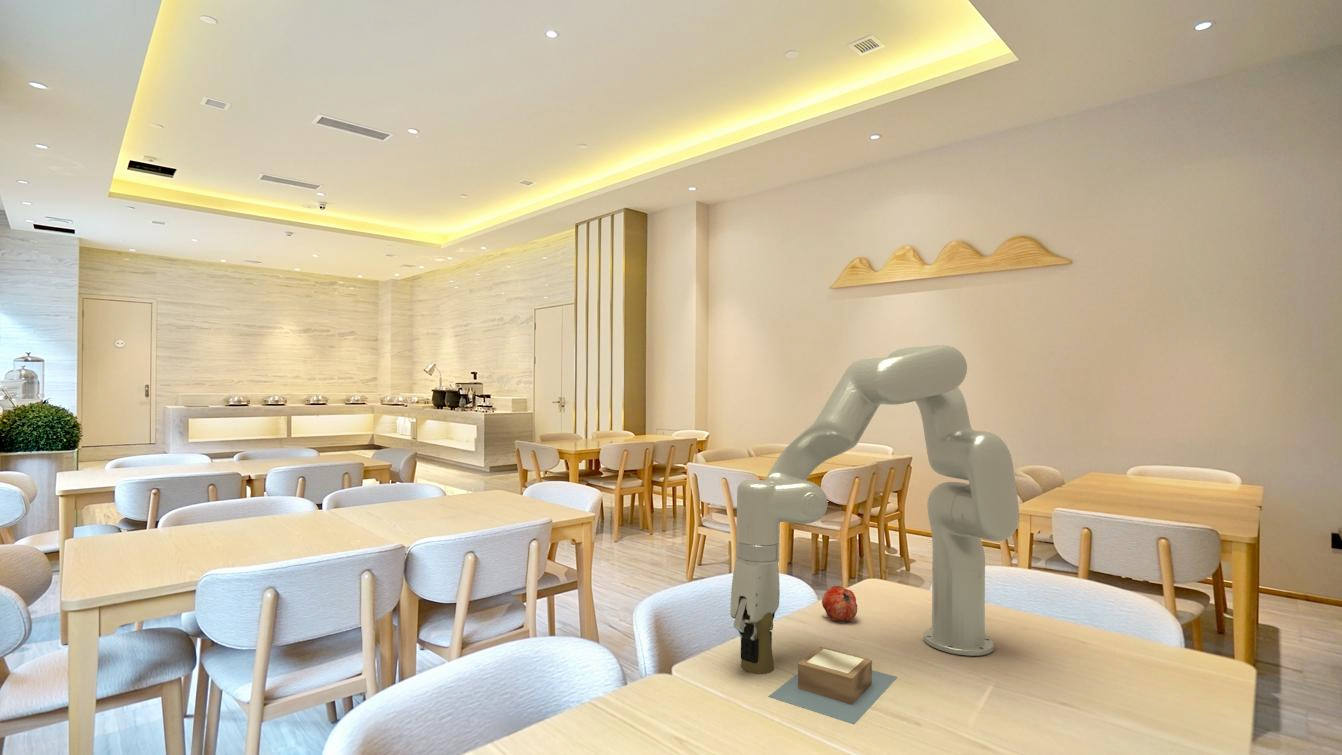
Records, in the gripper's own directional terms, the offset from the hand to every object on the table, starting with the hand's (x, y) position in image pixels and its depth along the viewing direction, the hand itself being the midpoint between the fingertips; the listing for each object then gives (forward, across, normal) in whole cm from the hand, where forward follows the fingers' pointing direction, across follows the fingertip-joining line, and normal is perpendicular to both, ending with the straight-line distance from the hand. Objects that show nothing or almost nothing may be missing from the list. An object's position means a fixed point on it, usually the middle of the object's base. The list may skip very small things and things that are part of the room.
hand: (756, 655), depth 115 cm
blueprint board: (+3, -1, +14) cm, 14 cm away
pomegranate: (+3, -35, +1) cm, 35 cm away
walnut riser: (+2, -1, +14) cm, 14 cm away
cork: (+3, 0, 0) cm, 3 cm away
